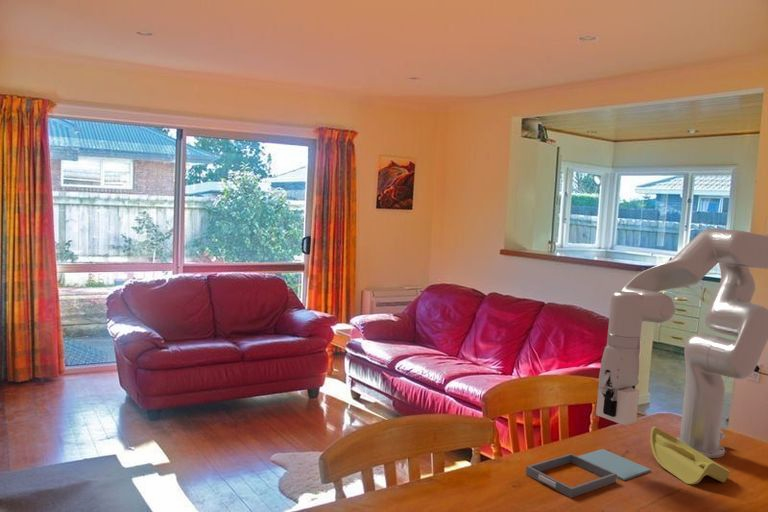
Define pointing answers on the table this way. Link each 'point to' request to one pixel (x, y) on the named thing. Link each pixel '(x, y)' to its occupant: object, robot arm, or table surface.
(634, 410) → the block
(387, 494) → the table surface
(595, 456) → the mat
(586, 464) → the grey rectangular frame
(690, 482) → the plastic component
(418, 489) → the table surface
